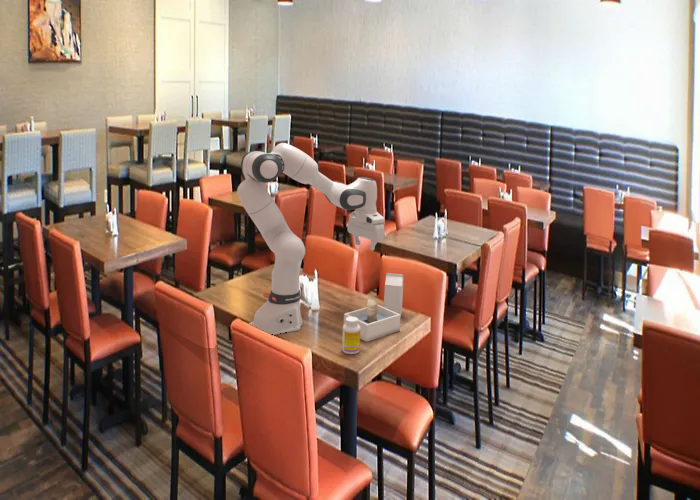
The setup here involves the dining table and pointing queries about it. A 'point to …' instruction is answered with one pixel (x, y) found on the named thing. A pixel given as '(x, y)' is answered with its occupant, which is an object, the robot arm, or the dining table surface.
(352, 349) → the supplement bottle
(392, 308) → the milk carton
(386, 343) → the dining table surface
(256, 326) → the robot arm
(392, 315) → the socket box
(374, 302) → the peg
